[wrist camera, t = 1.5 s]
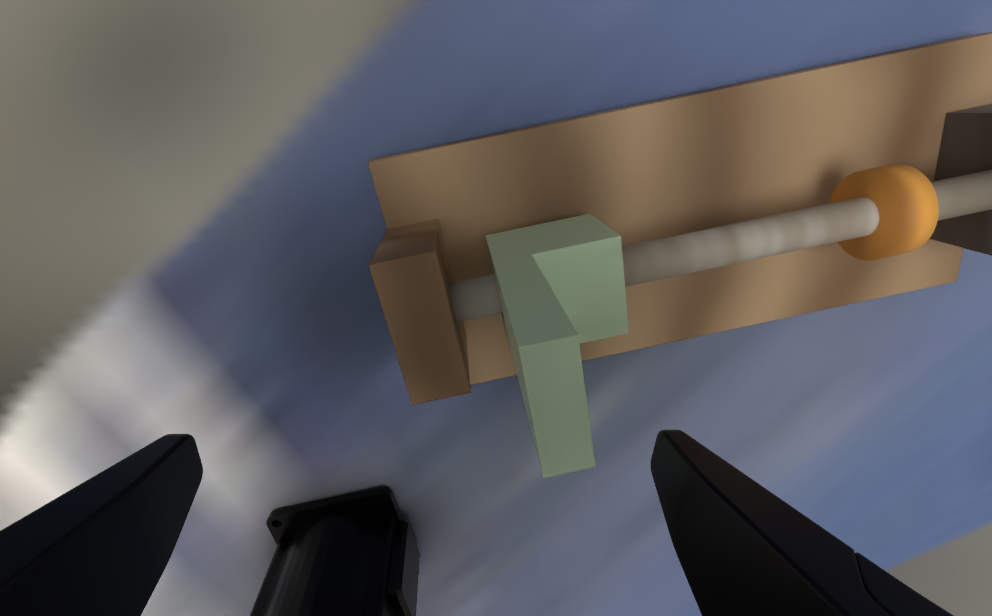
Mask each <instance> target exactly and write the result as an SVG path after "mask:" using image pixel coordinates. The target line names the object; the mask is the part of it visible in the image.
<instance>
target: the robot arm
mask: <svg viewBox="0 0 992 616" xmlns="http://www.w3.org/2000/svg"><path fill="white" fill-rule="evenodd" d="M651 472H652V476H653V479H654V483H655V486H656V489H657V493H658V496H659V499H660V503H661V506H662V510H663V513H664V516H665V520H666V523H667V527H668V530H669V533H670V536H671V539H672V543H673V545H674V548H675V551H676V553H677V556H678V558H679V561H680V563H681V566H682V568H683V570H684V573H685V575H686V578H687V580H688V583H689V585H690V587H691V590H692V592H693V595H694V597H695V600H696V602H697V604H698V607H699V609H700V612H701V614H702V616H953V615H952V614H950V613H949V612H947V611H946V610H944V609H942V608H941V607H939V606H938V605H936V604H935V603H933V602H931V601H930V600H928V599H927V598H925V597H923V596H922V595H920V594H919V593H917V592H916V591H914V590H913V589H911V588H910V587H908V586H907V585H905V584H904V583H902V582H901V581H899V580H898V579H896V578H895V577H893V576H892V575H890V574H889V573H887V572H886V571H884V570H883V569H881V568H880V567H878V566H877V565H876V564H874V563H873V562H871V561H870V560H868V559H867V558H865V557H864V556H863V555H861V554H860V553H855V552H854V550H853V549H852V548H851V547H849V546H848V545H846V544H845V543H844V542H842V541H841V540H839V539H838V538H836V537H835V536H833V535H832V534H831V533H829V532H828V531H826V530H825V529H823V528H822V527H820V526H819V525H817V524H816V523H815V522H813V521H812V520H810V519H809V518H807V517H806V516H804V515H803V514H802V513H800V512H799V511H797V510H796V509H794V508H793V507H791V506H790V505H788V504H787V503H786V502H784V501H783V500H781V499H780V498H778V497H777V496H775V495H774V494H773V493H771V492H770V491H768V490H767V489H765V488H764V487H762V486H761V485H759V484H758V483H757V482H755V481H754V480H752V479H751V478H749V477H748V476H746V475H745V474H744V473H742V472H741V471H739V470H738V469H736V468H735V467H733V466H732V465H731V464H729V463H728V462H726V461H725V460H723V459H722V458H720V457H719V456H717V455H716V454H715V453H713V452H712V451H710V450H709V449H707V448H706V447H704V446H703V445H702V444H700V443H699V442H697V441H696V440H694V439H693V438H691V437H690V436H688V435H687V434H686V433H684V432H682V431H680V430H662V431H660V432H659V433H658V435H657V438H656V442H655V446H654V450H653V454H652V458H651ZM202 475H203V467H202V463H201V459H200V456H199V453H198V449H197V446H196V442H195V439H194V438H193V436H191V435H189V434H168V435H165V436H163V437H161V438H159V439H158V440H156V441H154V442H152V443H151V444H149V445H147V446H146V447H144V448H142V449H140V450H139V451H137V452H135V453H134V454H132V455H130V456H128V457H127V458H125V459H123V460H122V461H120V462H118V463H116V464H115V465H113V466H111V467H110V468H108V469H106V470H104V471H103V472H101V473H99V474H97V475H96V476H94V477H92V478H91V479H89V480H87V481H85V482H84V483H82V484H80V485H79V486H77V487H75V488H73V489H72V490H70V491H68V492H66V493H65V494H63V495H61V496H60V497H58V498H56V499H54V500H53V501H51V502H49V503H48V504H46V505H44V506H42V507H41V508H39V509H37V510H36V511H34V512H32V513H30V514H29V515H27V516H25V517H23V518H22V519H20V520H18V521H17V522H15V523H13V524H11V525H10V526H8V527H6V528H5V529H3V530H1V531H0V616H141V614H142V612H143V610H144V608H145V606H146V604H147V602H148V600H149V598H150V596H151V594H152V593H153V591H154V589H155V587H156V585H157V583H158V581H159V579H160V577H161V575H162V573H163V571H164V569H165V567H166V565H167V563H168V561H169V559H170V557H171V554H172V552H173V550H174V547H175V545H176V542H177V540H178V537H179V535H180V532H181V530H182V527H183V525H184V522H185V520H186V517H187V515H188V512H189V510H190V507H191V505H192V502H193V500H194V497H195V495H196V492H197V490H198V487H199V485H200V482H201V479H202ZM380 497H384V498H385V499H381V498H380ZM277 520H279V521H277ZM267 526H268V528H269V530H270V532H271V534H272V536H273V538H274V540H275V542H276V543H277V548H276V550H275V553H274V556H273V558H272V561H271V563H270V566H269V568H268V571H267V573H266V576H265V578H264V581H263V583H262V586H261V589H260V591H259V594H258V596H257V599H256V601H255V604H254V606H253V609H252V611H251V614H250V616H416V603H417V587H418V574H419V557H420V553H419V550H418V547H417V545H416V542H415V539H414V536H413V533H412V531H411V528H410V525H409V523H408V522H407V521H406V520H405V519H404V520H402V517H401V515H400V512H399V509H398V506H397V504H396V501H395V498H394V496H393V493H392V491H391V490H389V489H388V488H378V489H373V490H368V491H364V492H359V493H355V494H350V495H345V496H341V497H336V498H331V499H327V500H322V501H317V502H313V503H308V504H303V505H299V506H294V507H290V508H285V509H280V510H276V511H273V512H272V513H271V514H270V515H269V518H268V520H267Z"/></svg>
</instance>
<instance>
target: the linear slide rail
mask: <svg viewBox="0 0 992 616" xmlns="http://www.w3.org/2000/svg"><path fill="white" fill-rule="evenodd" d="M368 165H369V168H370V172H371V175H372V179H373V182H374V186H375V189H376V193H377V196H378V200H379V203H380V207H381V210H382V213H383V217H384V220H385V224H386V227H387V231H386V233H385V234H384V236H383V238H382V240H381V242H380V244H379V246H378V248H377V250H376V252H375V254H374V256H373V258H372V260H371V262H370V263H369V268H370V271H371V275H372V278H373V281H374V284H375V287H376V291H377V294H378V297H379V300H380V303H381V307H382V310H383V313H384V316H385V319H386V323H387V326H388V329H389V332H390V335H391V338H392V342H393V345H394V348H395V351H396V354H397V358H398V361H399V364H400V367H401V370H402V374H403V377H404V380H405V383H406V386H407V390H408V393H409V396H410V399H411V402H412V405H415V404H419V403H424V402H429V401H433V400H438V399H443V398H448V397H452V396H457V395H462V394H466V393H471V388H470V385H472V384H477V383H481V382H486V381H491V380H495V379H500V378H505V377H510V376H514V375H517V374H516V370H515V366H514V362H513V358H512V355H511V351H510V347H509V343H508V339H507V335H506V331H505V328H504V324H503V320H502V316H501V313H503V311H502V306H501V301H500V296H499V291H498V286H497V281H496V276H495V274H493V271H492V266H491V261H490V256H489V251H488V246H487V241H486V236H485V235H490V234H495V233H499V232H504V231H509V230H514V229H518V228H523V227H528V226H533V225H538V224H542V223H547V222H552V221H557V220H562V219H566V218H571V217H576V216H581V215H585V214H591V215H593V216H594V217H596V218H597V219H598V220H600V221H601V222H603V223H604V224H605V225H607V226H608V227H609V228H611V229H612V230H614V231H615V232H616V233H618V234H619V235H620V236H621V243H622V255H623V268H624V280H625V292H626V304H627V316H628V328H629V333H627V334H622V335H617V336H613V337H608V338H603V339H598V340H594V341H589V342H584V343H580V352H581V360H582V361H585V360H589V359H594V358H599V357H603V356H608V355H613V354H617V353H622V352H627V351H632V350H636V349H641V348H646V347H650V346H655V345H660V344H664V343H669V342H674V341H678V340H683V339H688V338H693V337H697V336H702V335H707V334H711V333H716V332H721V331H725V330H730V329H735V328H739V327H744V326H749V325H754V324H758V323H763V322H768V321H772V320H777V319H782V318H786V317H791V316H796V315H800V314H805V313H810V312H815V311H819V310H824V309H829V308H833V307H838V306H843V305H847V304H852V303H857V302H861V301H866V300H871V299H876V298H880V297H885V296H890V295H894V294H899V293H904V292H908V291H913V290H918V289H922V288H927V287H932V286H937V285H941V284H946V283H951V282H955V281H956V280H957V276H958V271H959V267H960V262H961V258H962V253H963V249H964V248H966V249H970V250H973V251H977V252H981V253H985V254H988V255H992V32H989V33H983V34H976V35H969V36H964V37H960V38H955V39H950V40H945V41H940V42H935V43H930V44H926V45H921V46H916V47H911V48H906V49H901V50H897V51H892V52H887V53H882V54H877V55H872V56H867V57H863V58H858V59H853V60H848V61H843V62H838V63H834V64H829V65H824V66H819V67H814V68H809V69H805V70H800V71H795V72H790V73H785V74H780V75H775V76H771V77H766V78H761V79H756V80H751V81H746V82H742V83H737V84H732V85H727V86H722V87H717V88H712V89H708V90H703V91H698V92H693V93H688V94H683V95H679V96H674V97H669V98H664V99H659V100H654V101H649V102H645V103H640V104H635V105H630V106H625V107H620V108H616V109H611V110H606V111H601V112H596V113H591V114H586V115H582V116H577V117H572V118H567V119H562V120H557V121H553V122H548V123H543V124H538V125H533V126H528V127H524V128H519V129H514V130H509V131H504V132H499V133H494V134H490V135H485V136H480V137H475V138H470V139H465V140H461V141H456V142H451V143H446V144H441V145H436V146H431V147H427V148H422V149H417V150H412V151H407V152H402V153H398V154H393V155H388V156H383V157H378V158H374V159H372V160H371V161H369V162H368Z"/></svg>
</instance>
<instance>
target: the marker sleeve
mask: <svg viewBox="0 0 992 616" xmlns="http://www.w3.org/2000/svg"><path fill="white" fill-rule="evenodd" d="M485 236H486V241H487V246H488V251H489V256H490V261H491V266H492V271H493V274H495V276H496V281H497V286H498V291H499V296H500V301H501V306H502V311H503V313H501V316H502V320H503V324H504V328H505V331H506V335H507V339H508V343H509V347H510V351H511V355H512V358H513V362H514V366H515V370H516V374H517V378H518V382H519V385H520V389H521V393H522V397H523V401H524V405H525V409H526V412H527V416H528V420H529V424H530V428H531V432H532V436H533V440H534V443H535V447H536V451H537V455H538V459H539V463H540V467H541V470H542V474H543V478H547V477H552V476H556V475H561V474H566V473H570V472H575V471H579V470H584V469H589V468H593V467H596V466H595V459H594V451H593V443H592V436H591V428H590V421H589V413H588V405H587V398H586V390H585V383H584V375H583V367H582V360H581V352H580V343H584V342H589V341H594V340H598V339H603V338H608V337H613V336H617V335H622V334H627V333H629V328H628V316H627V304H626V292H625V280H624V268H623V255H622V243H621V236H620V235H619V234H618V233H616V232H615V231H614V230H612V229H611V228H609V227H608V226H607V225H605V224H604V223H603V222H601V221H600V220H598V219H597V218H596V217H594V216H593V215H591V214H585V215H581V216H576V217H571V218H566V219H562V220H557V221H552V222H547V223H542V224H538V225H533V226H528V227H523V228H518V229H514V230H509V231H504V232H499V233H495V234H490V235H485Z"/></svg>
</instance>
